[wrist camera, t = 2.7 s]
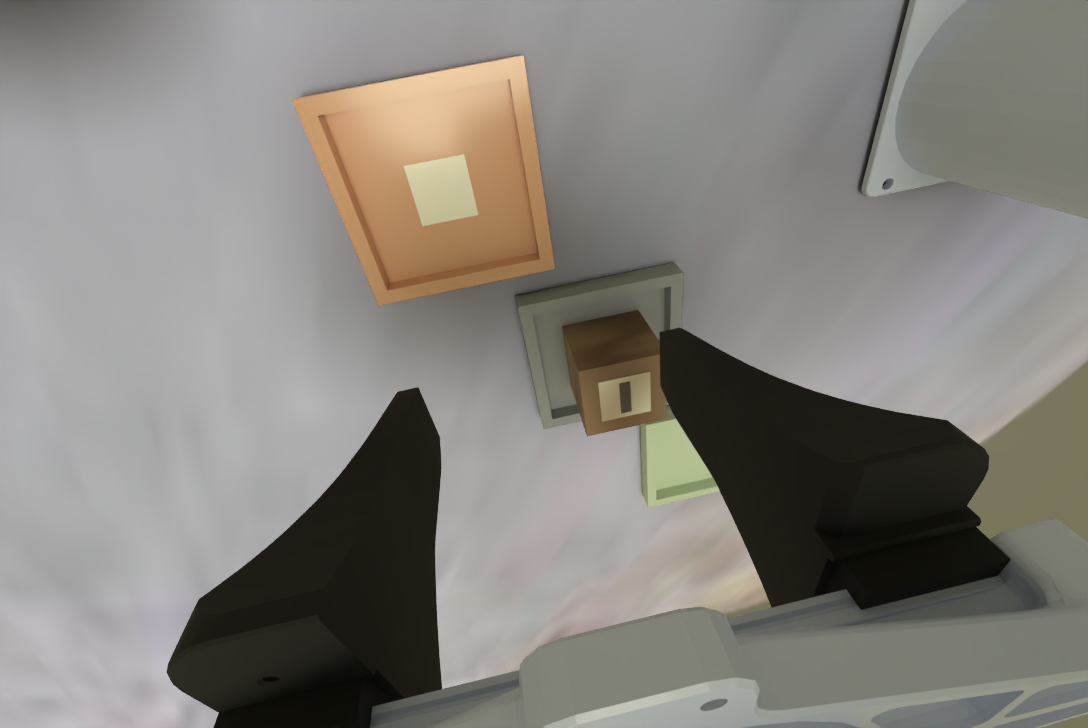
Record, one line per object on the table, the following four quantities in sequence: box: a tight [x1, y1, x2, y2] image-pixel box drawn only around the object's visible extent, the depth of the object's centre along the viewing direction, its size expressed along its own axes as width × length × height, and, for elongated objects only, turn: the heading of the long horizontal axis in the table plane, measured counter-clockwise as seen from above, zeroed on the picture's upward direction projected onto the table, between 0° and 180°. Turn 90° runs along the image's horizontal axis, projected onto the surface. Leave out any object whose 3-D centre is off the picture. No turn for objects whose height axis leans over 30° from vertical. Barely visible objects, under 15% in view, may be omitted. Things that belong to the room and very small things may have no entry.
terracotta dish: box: [292, 55, 555, 305], centre depth 18 cm, size 8×8×1 cm
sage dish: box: [640, 406, 720, 507], centre depth 30 cm, size 8×8×1 cm
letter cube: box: [562, 310, 667, 436], centre depth 22 cm, size 4×4×4 cm
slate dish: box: [515, 263, 684, 429], centre depth 24 cm, size 8×8×1 cm
